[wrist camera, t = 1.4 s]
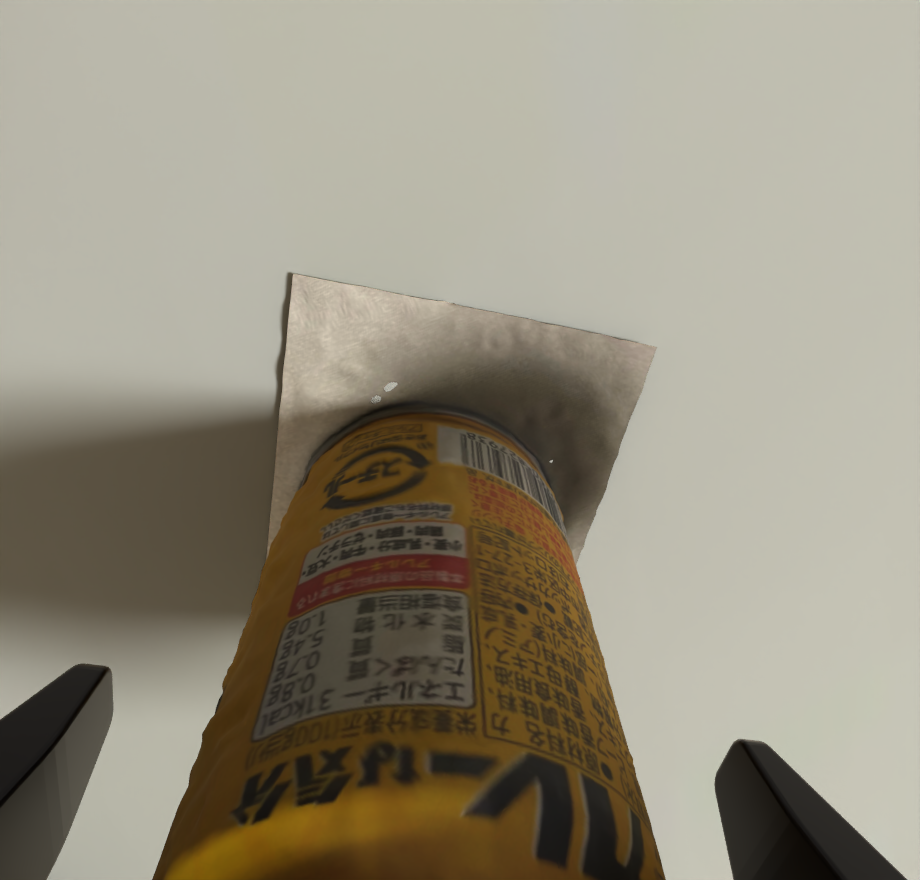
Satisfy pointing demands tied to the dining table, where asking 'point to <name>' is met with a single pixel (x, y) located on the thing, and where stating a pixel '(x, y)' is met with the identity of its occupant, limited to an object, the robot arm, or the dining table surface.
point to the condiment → (425, 612)
